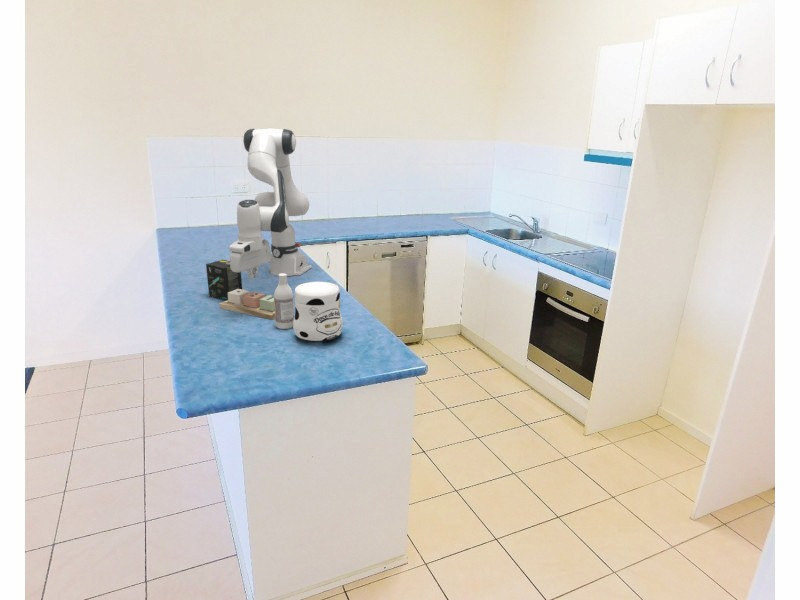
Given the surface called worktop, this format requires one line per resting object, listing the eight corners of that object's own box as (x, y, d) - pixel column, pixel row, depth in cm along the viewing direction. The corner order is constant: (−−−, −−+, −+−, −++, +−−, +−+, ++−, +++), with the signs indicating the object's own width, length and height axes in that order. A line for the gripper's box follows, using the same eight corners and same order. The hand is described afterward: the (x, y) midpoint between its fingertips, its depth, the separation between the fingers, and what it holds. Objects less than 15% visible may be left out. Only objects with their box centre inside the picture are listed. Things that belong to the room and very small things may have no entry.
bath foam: (278, 322, 201) (275, 271, 195) (296, 322, 201) (294, 271, 195) (273, 329, 195) (270, 276, 188) (292, 329, 195) (290, 277, 188)
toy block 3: (269, 304, 214) (269, 294, 212) (282, 306, 211) (281, 296, 210) (260, 308, 208) (259, 298, 207) (272, 311, 206) (271, 301, 205)
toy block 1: (238, 297, 220) (237, 288, 219) (250, 300, 218) (249, 290, 216) (228, 302, 215) (227, 292, 213) (240, 304, 212) (239, 294, 211)
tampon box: (243, 295, 229) (241, 262, 224) (226, 301, 221) (223, 267, 216) (225, 291, 234) (222, 258, 229) (208, 296, 226) (205, 263, 222)
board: (240, 299, 224) (239, 295, 223) (291, 310, 214) (290, 305, 213) (219, 308, 214) (219, 303, 213) (272, 319, 203) (271, 314, 203)
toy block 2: (254, 301, 217) (253, 291, 215) (265, 303, 214) (265, 293, 213) (243, 305, 212) (243, 295, 210) (256, 308, 209) (255, 298, 208)
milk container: (333, 348, 180) (333, 298, 174) (285, 343, 184) (283, 293, 178) (348, 329, 196) (348, 283, 190) (304, 324, 200) (302, 278, 194)
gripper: (261, 237, 215) (263, 270, 219) (225, 247, 197) (228, 283, 202) (274, 239, 212) (276, 272, 217) (239, 249, 195) (241, 285, 199)
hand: (252, 278), depth 209 cm, fingers closed
